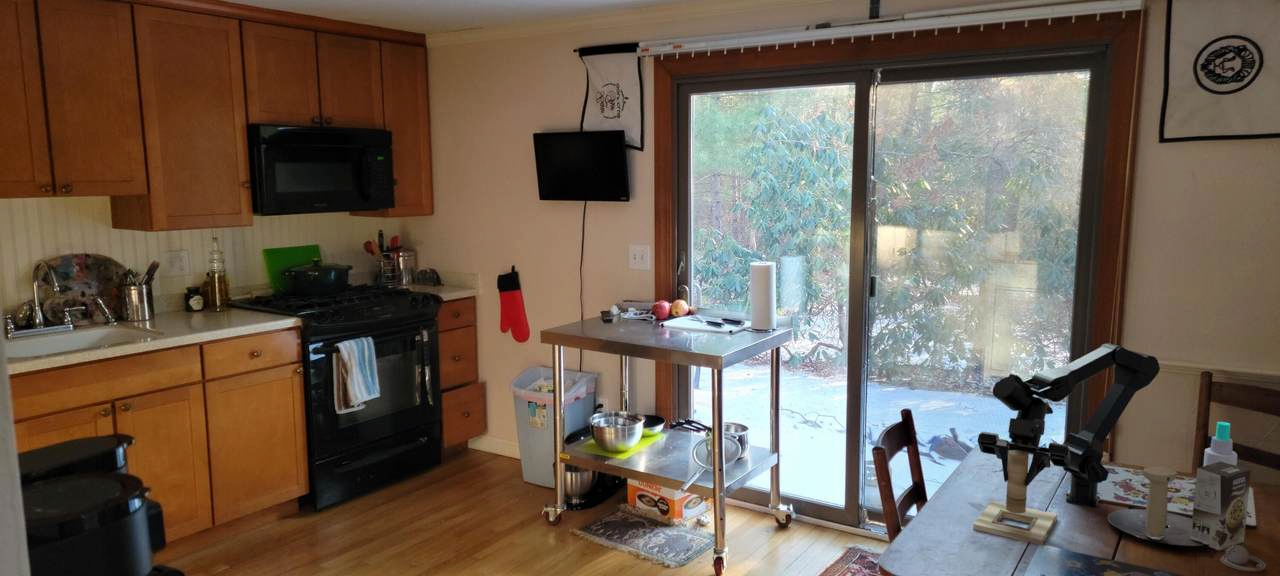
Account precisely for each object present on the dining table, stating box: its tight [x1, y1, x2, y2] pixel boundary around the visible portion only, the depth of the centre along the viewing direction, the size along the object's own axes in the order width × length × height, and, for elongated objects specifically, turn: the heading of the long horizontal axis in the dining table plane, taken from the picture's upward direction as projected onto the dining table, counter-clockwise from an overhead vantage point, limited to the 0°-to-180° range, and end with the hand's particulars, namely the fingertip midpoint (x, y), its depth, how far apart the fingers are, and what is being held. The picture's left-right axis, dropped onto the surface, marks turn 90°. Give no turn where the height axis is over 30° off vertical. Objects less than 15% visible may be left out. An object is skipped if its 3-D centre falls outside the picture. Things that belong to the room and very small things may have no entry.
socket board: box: [972, 500, 1058, 546], centre depth 194 cm, size 16×14×1 cm
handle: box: [1142, 466, 1178, 537], centre depth 185 cm, size 5×6×15 cm
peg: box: [1005, 450, 1030, 513], centre depth 191 cm, size 4×4×13 cm
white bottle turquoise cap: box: [1203, 421, 1238, 466], centre depth 195 cm, size 6×6×22 cm
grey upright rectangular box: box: [1190, 462, 1252, 551], centre depth 183 cm, size 9×6×16 cm
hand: (1015, 483), depth 190 cm, fingers closed on peg, 4 cm apart
